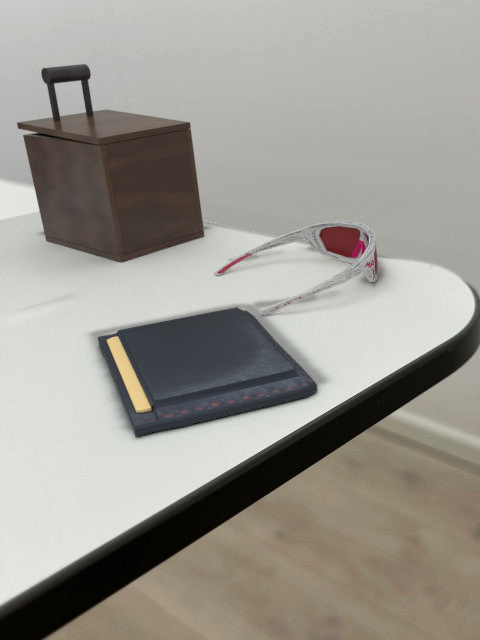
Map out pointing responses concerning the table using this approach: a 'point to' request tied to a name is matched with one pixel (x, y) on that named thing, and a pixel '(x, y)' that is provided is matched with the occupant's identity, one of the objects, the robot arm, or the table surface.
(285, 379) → the wallet
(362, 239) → the sunglasses
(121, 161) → the chest
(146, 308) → the table surface
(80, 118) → the lid
